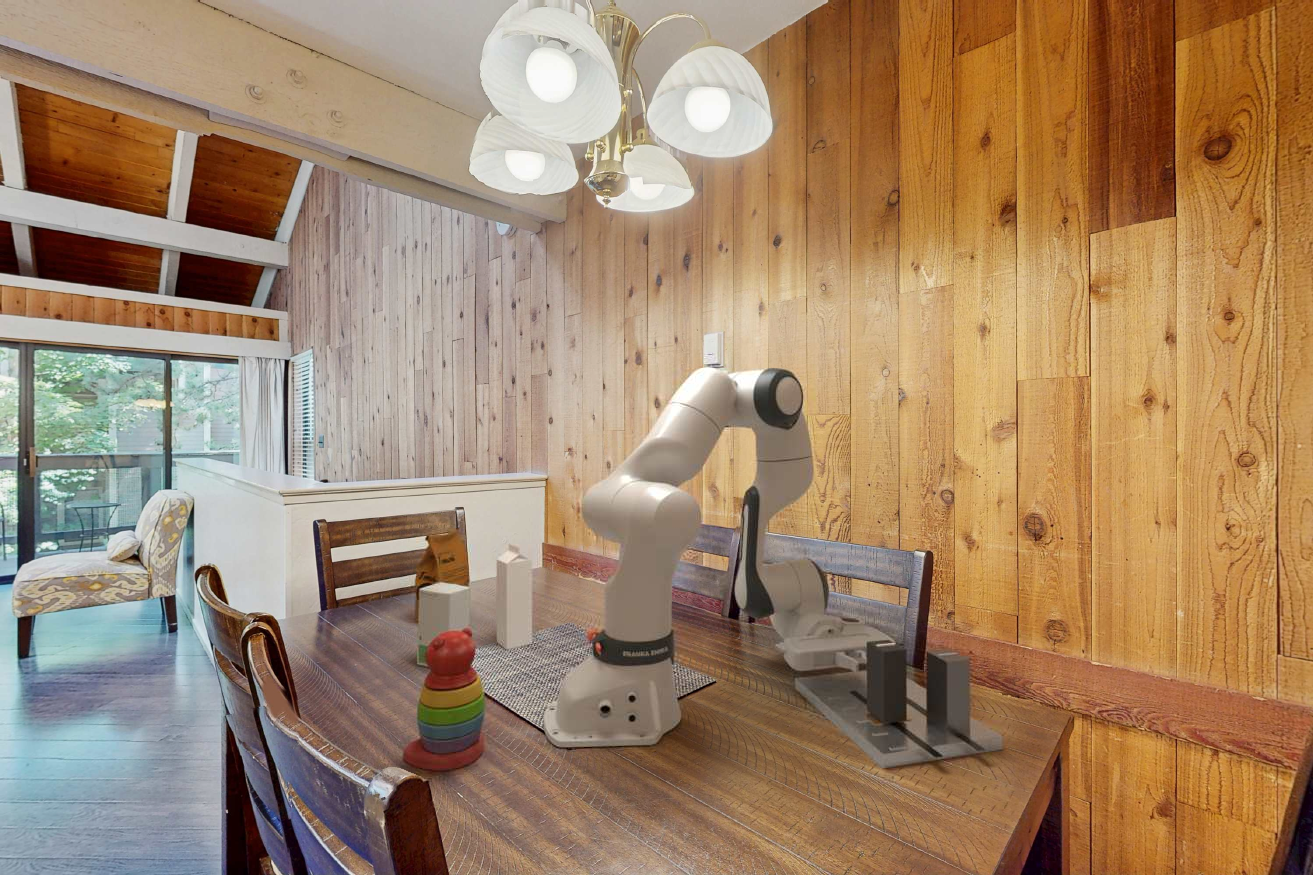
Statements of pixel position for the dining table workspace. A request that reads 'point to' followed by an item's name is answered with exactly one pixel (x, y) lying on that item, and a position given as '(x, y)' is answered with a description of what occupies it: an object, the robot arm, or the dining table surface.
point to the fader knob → (887, 681)
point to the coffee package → (442, 563)
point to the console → (931, 714)
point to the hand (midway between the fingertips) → (863, 667)
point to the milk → (514, 599)
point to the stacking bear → (449, 706)
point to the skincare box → (441, 613)
